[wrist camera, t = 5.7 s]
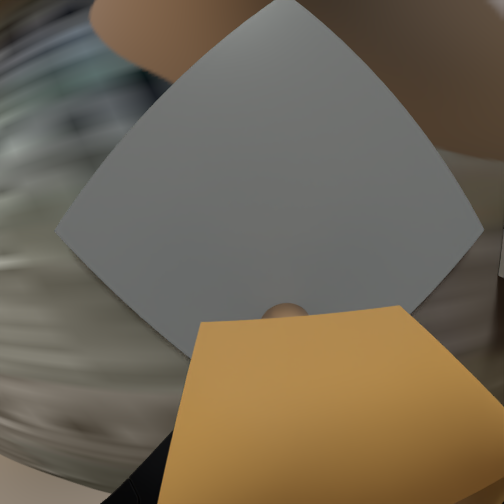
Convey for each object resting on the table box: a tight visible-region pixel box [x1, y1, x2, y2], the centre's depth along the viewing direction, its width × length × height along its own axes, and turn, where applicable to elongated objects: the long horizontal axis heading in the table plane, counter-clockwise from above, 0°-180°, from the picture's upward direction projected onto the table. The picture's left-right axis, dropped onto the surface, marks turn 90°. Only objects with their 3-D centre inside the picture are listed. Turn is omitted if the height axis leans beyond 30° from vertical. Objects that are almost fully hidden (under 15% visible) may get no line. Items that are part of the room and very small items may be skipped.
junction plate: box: [54, 0, 484, 359], centre depth 11 cm, size 14×14×5 cm
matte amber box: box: [157, 305, 504, 504], centre depth 6 cm, size 5×5×6 cm
